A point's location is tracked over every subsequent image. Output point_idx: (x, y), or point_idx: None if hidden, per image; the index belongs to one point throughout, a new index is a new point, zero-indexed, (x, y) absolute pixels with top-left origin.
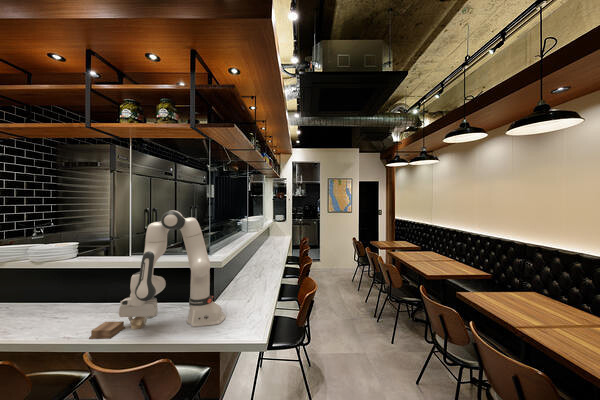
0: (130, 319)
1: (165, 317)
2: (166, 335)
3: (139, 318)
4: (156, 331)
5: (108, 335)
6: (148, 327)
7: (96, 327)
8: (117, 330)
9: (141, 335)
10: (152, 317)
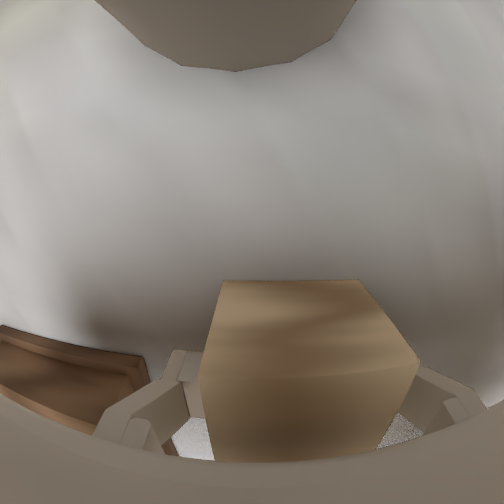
0: (164, 437)
1: (490, 87)
2: (501, 398)
3: (330, 444)
4: (471, 384)
5: None
6: (416, 344)
7: None
8: None
9: (386, 440)
10: (336, 30)
